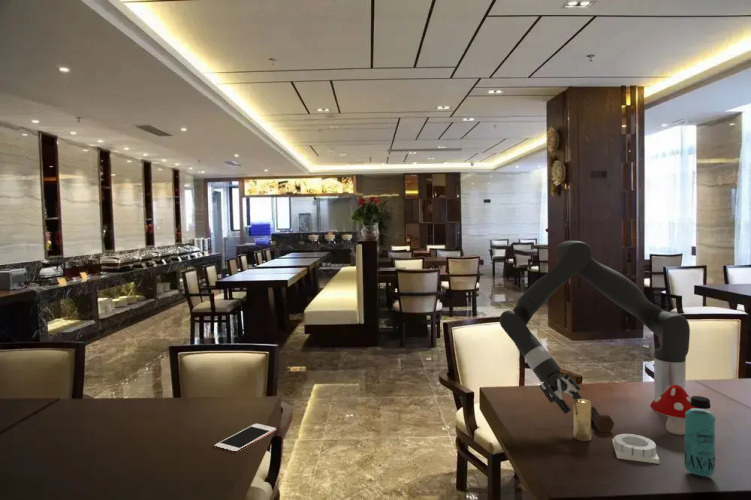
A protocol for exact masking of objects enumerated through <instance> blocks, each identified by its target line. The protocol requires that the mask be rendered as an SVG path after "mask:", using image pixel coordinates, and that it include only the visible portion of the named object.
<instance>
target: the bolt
mask: <svg viewBox="0 0 751 500" xmlns="http://www.w3.org/2000/svg"><path fill="white" fill-rule="evenodd" d="M591 422H593V424H594V426H595V427H596V429H597V430H598V432H599V433H610V432H612V431H613V429H614V426H615V422H614V420H613V419H612V418H611V416H610V415H609V414H601V413H599V412H598V410H597V408H596V407H595V406H594V405H592V404H591Z"/></svg>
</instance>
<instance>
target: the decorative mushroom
mask: <svg viewBox="0 0 751 500" xmlns="http://www.w3.org/2000/svg"><path fill="white" fill-rule="evenodd" d="M690 403H691V396H690V395H689V394H688V393H687V391H686V392H685V390H684V389H683V388H682V387H681V386H679V385H671V386H669V387H667V389H666V391H665V392H664V393H663V394H662V395H660V396H659V397H658V398H656V399H655V400H654V399H653V400H652V401H651V403H650V404H649V406H650V408H651V409H652V410H653V411H655V413H657V414H661V415H663V416H665V417H667V421H666V424H665V429H666V431H668V433H670V434H673V435H677V436H682V435H683V436H684V435H685V418H686V415H685V413H686V411H688V410H690V409H692V408H696V407H693V406H691V404H690ZM698 409H701V408H698Z"/></svg>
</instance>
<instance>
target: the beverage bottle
mask: <svg viewBox="0 0 751 500" xmlns="http://www.w3.org/2000/svg"><path fill="white" fill-rule="evenodd" d="M690 398H691V403H690V404H691V406H693V407H696V408H692V409H690V410H688V411H686V413H685V415H686V418H685V419H684V420H685V434H684V442H683V443H684V444H683V445H684V447H683V449H684V450H683V452H684V454H683V459H684V460H683V466H684V469H685V470H686V471H687V472H689V473H691V474H693V475H696V476H702V477H712V476H713V475H714V474H715V471H716V469H715V466H716V463H715V461H716V450H715V449H716V435H715V434H716V417H715V415H714V414H713V413H712V412H710V411H709V409H711V400H710V399H709V398H708V397H705V396H700V395H693V396H690ZM698 408H701V409H698Z"/></svg>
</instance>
